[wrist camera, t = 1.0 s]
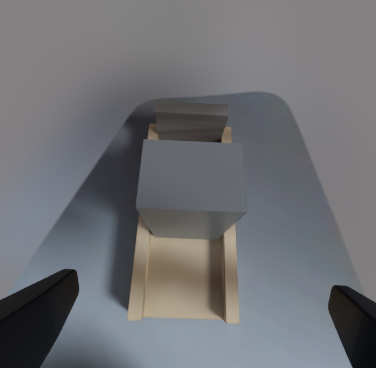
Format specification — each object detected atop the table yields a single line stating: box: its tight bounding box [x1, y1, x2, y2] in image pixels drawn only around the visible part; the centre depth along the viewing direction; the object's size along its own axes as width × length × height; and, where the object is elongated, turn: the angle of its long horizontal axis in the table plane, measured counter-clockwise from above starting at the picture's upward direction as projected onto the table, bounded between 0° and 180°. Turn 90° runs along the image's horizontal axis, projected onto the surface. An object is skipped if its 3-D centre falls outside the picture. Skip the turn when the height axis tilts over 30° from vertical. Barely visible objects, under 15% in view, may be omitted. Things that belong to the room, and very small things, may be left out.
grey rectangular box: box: [135, 139, 247, 240], centre depth 17 cm, size 4×6×10 cm
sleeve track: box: [127, 101, 239, 324], centre depth 21 cm, size 18×9×6 cm, turn 178°
